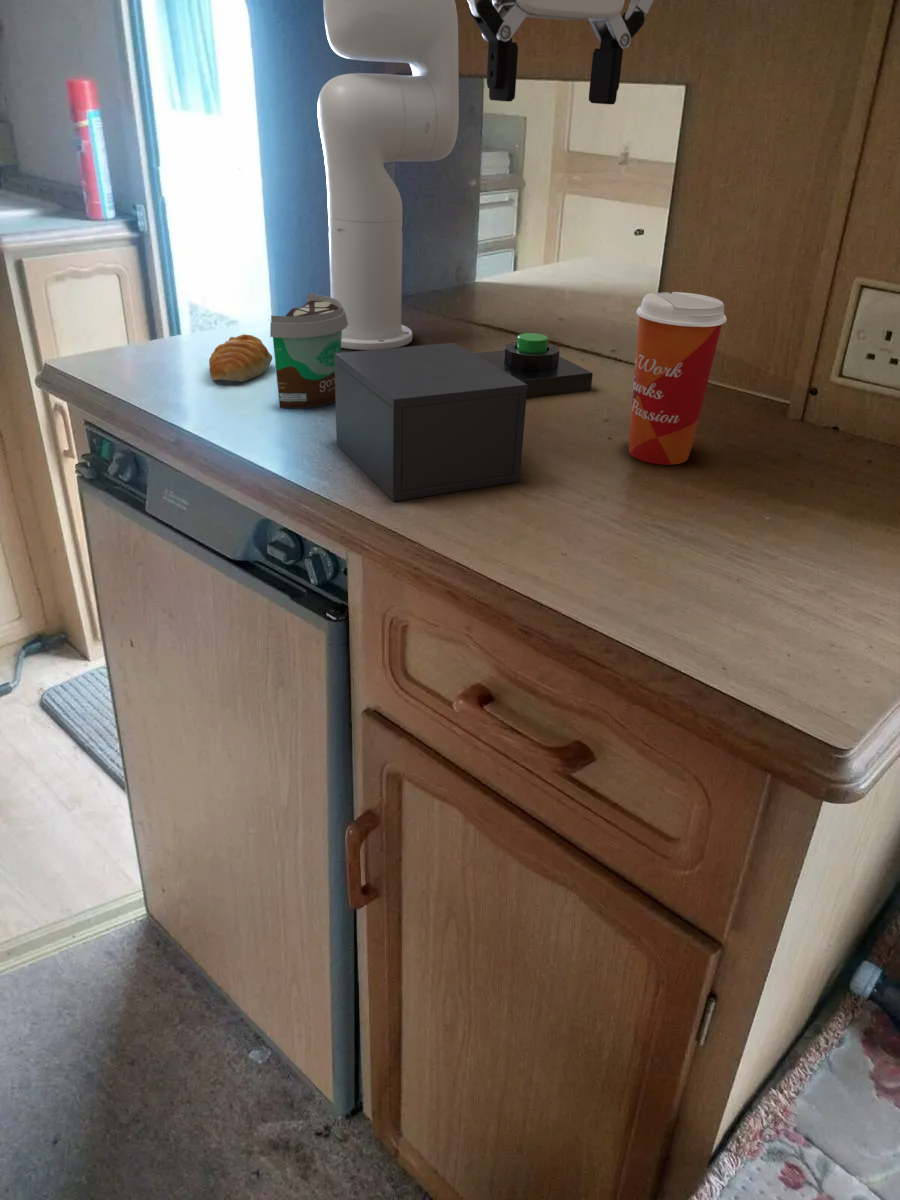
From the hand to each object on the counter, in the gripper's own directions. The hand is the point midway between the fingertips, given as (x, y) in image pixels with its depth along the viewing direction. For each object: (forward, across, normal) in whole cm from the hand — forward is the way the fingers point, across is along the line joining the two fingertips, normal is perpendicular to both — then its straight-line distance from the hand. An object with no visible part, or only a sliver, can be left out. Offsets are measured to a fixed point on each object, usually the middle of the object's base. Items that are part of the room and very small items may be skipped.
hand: (552, 102), depth 75 cm
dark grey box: (+31, +10, -1) cm, 32 cm away
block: (+30, -13, -21) cm, 39 cm away
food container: (+31, +13, -23) cm, 40 cm away
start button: (+27, -13, -21) cm, 36 cm away
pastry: (+31, +19, -35) cm, 50 cm away
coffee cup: (+31, -12, +5) cm, 34 cm away
